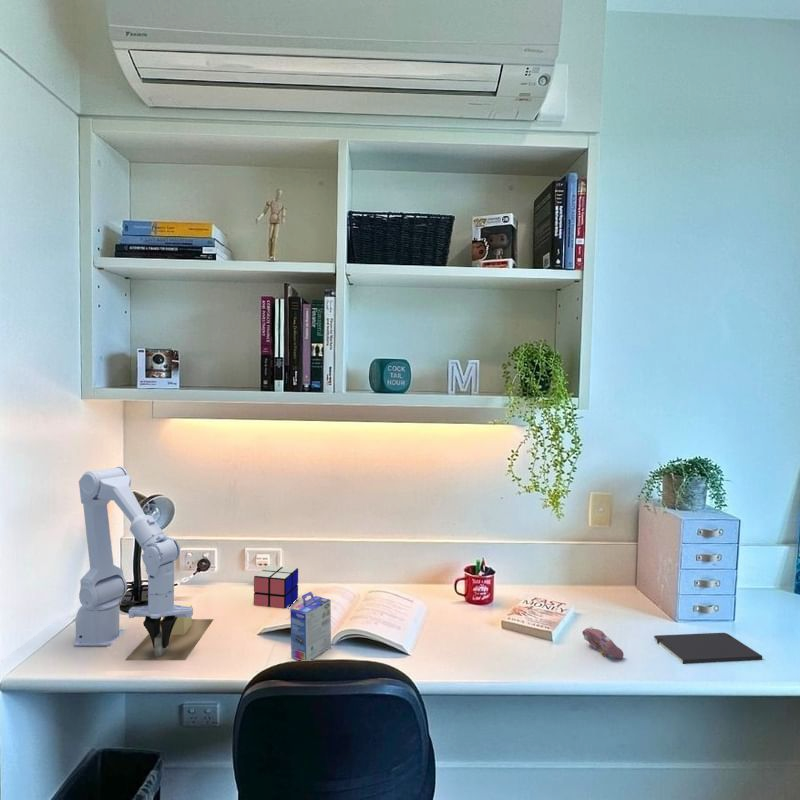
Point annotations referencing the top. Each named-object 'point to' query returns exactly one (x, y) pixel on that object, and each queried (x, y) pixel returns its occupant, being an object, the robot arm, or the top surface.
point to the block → (181, 624)
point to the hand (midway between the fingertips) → (161, 646)
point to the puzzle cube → (276, 587)
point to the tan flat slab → (171, 644)
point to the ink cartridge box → (310, 627)
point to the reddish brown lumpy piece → (602, 643)
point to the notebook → (706, 648)
